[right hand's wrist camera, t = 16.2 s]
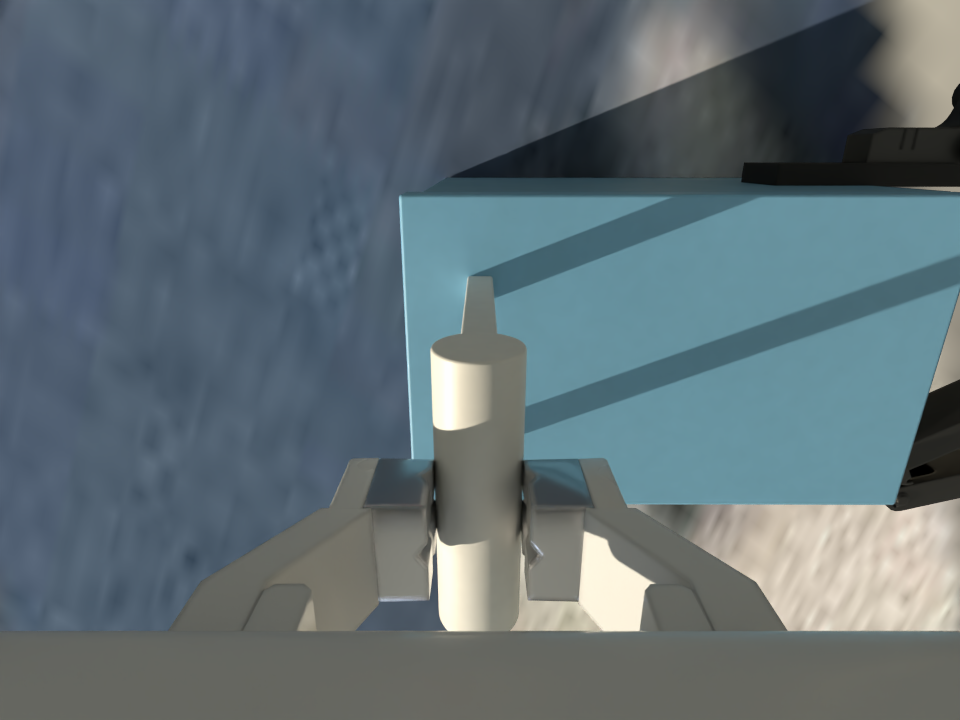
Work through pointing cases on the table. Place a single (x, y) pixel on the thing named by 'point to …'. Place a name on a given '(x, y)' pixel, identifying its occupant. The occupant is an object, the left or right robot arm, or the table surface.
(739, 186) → the chest
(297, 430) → the table surface
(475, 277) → the lid
